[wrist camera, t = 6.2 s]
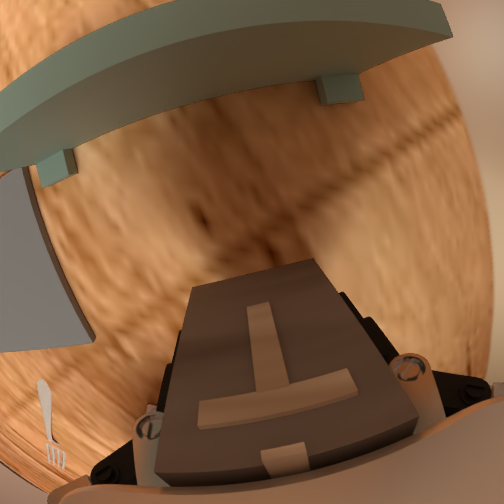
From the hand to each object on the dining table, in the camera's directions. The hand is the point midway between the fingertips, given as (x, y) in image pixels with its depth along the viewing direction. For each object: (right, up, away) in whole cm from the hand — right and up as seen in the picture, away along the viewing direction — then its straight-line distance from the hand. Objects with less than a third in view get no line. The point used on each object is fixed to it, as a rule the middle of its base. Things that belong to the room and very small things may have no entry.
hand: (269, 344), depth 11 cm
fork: (-23, -15, +10) cm, 30 cm away
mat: (-18, +2, +3) cm, 19 cm away
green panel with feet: (-4, +11, +1) cm, 12 cm away
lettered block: (0, +1, +1) cm, 2 cm away
